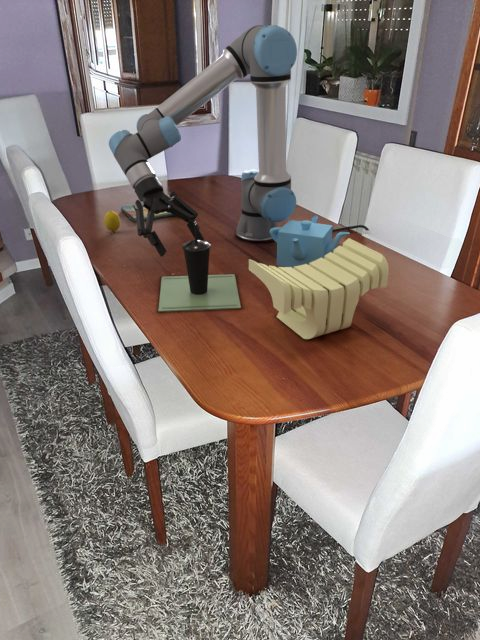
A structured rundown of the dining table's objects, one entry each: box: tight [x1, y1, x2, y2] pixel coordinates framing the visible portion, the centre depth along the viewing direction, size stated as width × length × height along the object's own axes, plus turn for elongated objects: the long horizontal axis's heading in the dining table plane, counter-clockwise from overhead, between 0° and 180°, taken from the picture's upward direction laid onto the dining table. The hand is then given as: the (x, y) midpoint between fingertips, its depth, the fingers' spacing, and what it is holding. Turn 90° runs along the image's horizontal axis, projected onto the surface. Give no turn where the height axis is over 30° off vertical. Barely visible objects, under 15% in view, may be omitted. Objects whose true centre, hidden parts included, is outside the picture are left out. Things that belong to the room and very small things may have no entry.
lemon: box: [103, 210, 121, 233], centre depth 189 cm, size 6×6×8 cm
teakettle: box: [270, 214, 351, 269], centre depth 161 cm, size 19×19×15 cm
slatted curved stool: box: [248, 237, 390, 340], centre depth 129 cm, size 30×16×18 cm, turn 119°
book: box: [120, 200, 176, 223], centre depth 210 cm, size 17×23×2 cm
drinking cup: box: [182, 221, 212, 295], centre depth 144 cm, size 8×8×20 cm
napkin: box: [157, 273, 242, 313], centre depth 149 cm, size 22×22×1 cm
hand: (183, 247), depth 147 cm, fingers open, 13 cm apart
